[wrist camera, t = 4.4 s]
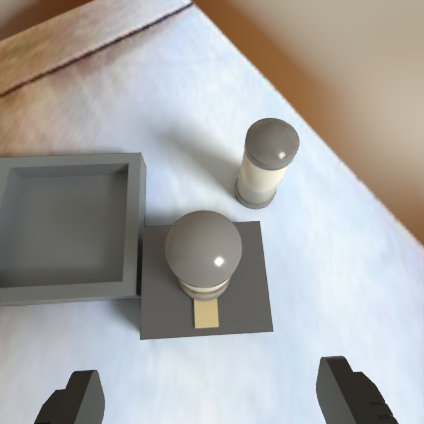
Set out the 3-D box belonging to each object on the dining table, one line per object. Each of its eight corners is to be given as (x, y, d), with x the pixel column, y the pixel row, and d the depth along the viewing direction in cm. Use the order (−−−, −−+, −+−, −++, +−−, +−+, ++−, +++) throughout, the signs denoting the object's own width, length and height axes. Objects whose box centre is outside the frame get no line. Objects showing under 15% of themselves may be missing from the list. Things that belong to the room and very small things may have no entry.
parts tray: (-12, 306, 23) (-36, 304, 21) (16, 172, 28) (-1, 157, 25) (142, 298, 24) (135, 294, 21) (146, 167, 28) (140, 152, 26)
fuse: (236, 210, 27) (248, 164, 19) (233, 174, 28) (243, 118, 21) (276, 208, 27) (303, 161, 19) (271, 173, 28) (294, 117, 21)
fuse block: (148, 338, 23) (139, 339, 20) (150, 237, 26) (142, 225, 23) (265, 331, 23) (274, 331, 20) (254, 232, 26) (260, 220, 23)
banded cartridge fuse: (179, 302, 21) (165, 287, 13) (179, 252, 22) (165, 212, 15) (231, 299, 21) (245, 282, 13) (227, 249, 22) (238, 208, 15)
